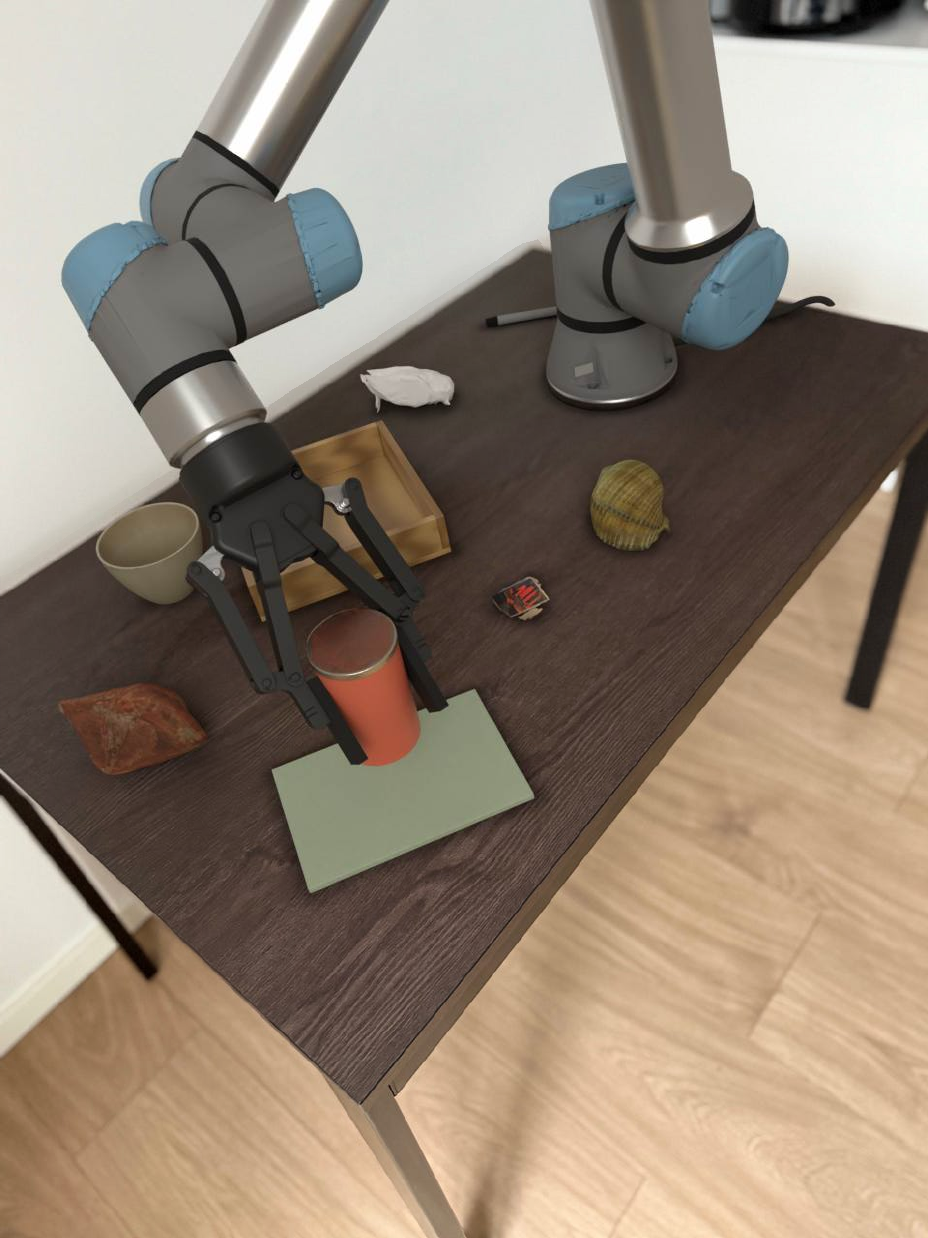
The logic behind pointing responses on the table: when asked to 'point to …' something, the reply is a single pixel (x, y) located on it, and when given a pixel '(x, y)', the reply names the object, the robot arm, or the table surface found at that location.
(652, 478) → the seashell
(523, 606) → the matchbox
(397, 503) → the wooden box
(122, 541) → the beige bowl
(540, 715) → the table surface
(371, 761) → the cylinder
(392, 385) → the bird figurine
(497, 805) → the mat
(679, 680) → the table surface
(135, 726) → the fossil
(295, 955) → the table surface
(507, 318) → the pen
